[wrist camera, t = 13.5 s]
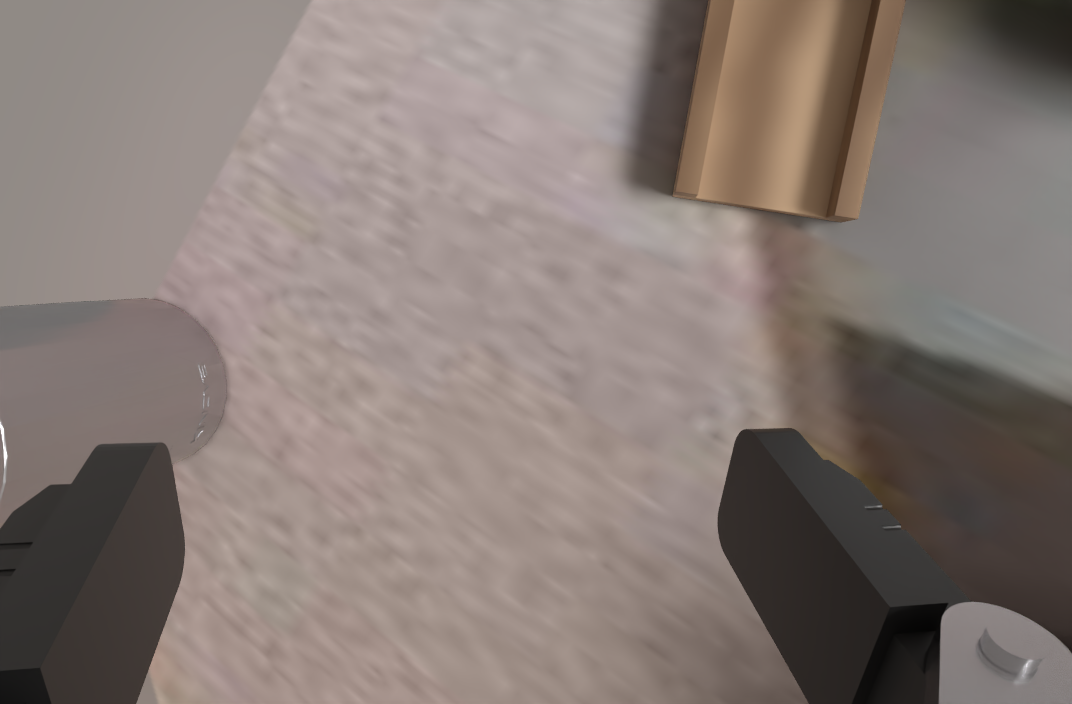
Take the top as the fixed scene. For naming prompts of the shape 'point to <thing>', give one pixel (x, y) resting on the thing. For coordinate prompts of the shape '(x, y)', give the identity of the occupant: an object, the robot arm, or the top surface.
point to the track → (788, 104)
